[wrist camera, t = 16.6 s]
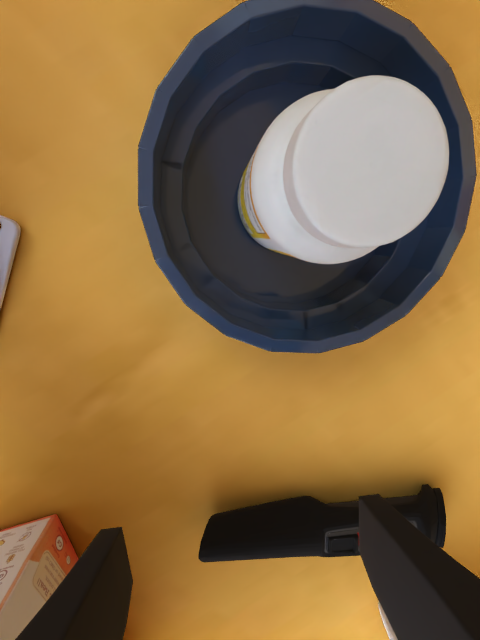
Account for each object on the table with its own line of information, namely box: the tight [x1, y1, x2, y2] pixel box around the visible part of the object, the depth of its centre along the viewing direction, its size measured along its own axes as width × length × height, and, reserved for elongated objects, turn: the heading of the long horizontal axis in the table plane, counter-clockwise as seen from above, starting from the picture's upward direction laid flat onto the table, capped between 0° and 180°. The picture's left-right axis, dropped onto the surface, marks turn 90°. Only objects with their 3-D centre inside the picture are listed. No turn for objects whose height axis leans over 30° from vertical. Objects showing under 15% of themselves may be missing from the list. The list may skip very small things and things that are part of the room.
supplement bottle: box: [238, 75, 449, 264], centre depth 13 cm, size 5×5×10 cm
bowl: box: [138, 0, 477, 353], centre depth 16 cm, size 14×14×4 cm
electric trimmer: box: [199, 484, 446, 562], centre depth 22 cm, size 4×16×3 cm, turn 91°
